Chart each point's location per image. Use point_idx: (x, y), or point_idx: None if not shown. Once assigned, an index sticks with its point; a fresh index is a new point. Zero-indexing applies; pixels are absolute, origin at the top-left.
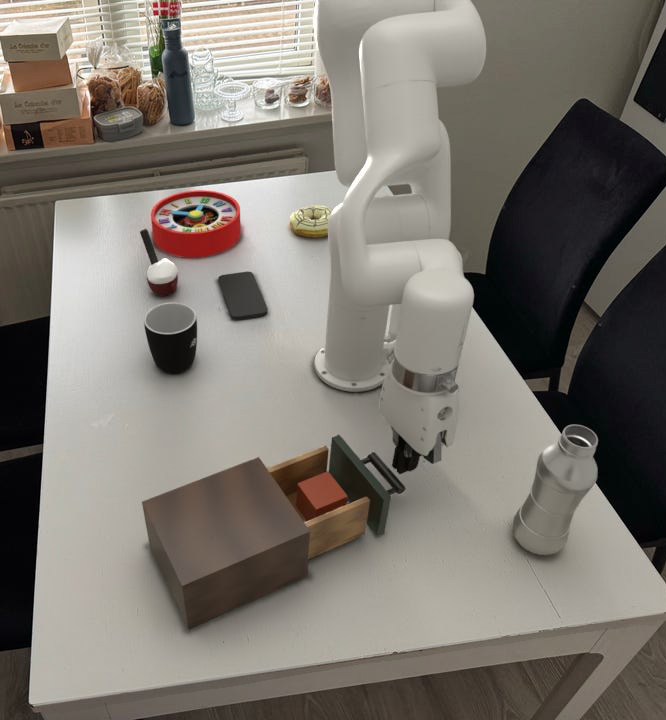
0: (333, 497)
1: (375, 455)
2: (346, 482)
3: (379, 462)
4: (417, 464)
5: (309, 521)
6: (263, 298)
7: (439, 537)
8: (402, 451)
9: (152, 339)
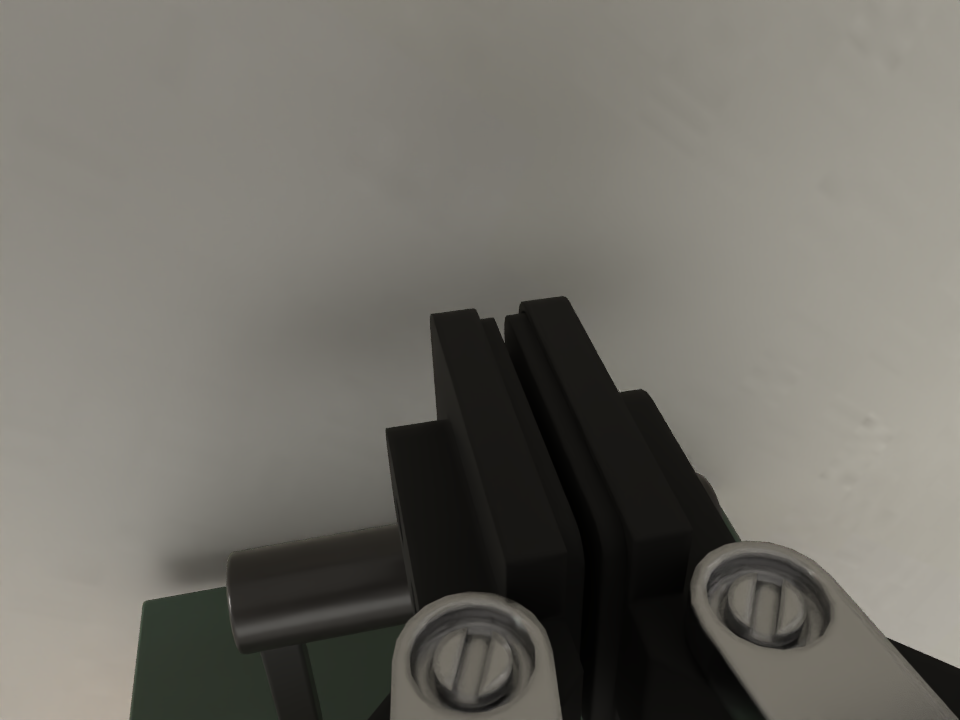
0: None
1: (290, 630)
2: None
3: (389, 623)
4: (662, 420)
5: None
6: None
7: (898, 180)
8: (596, 715)
9: None
